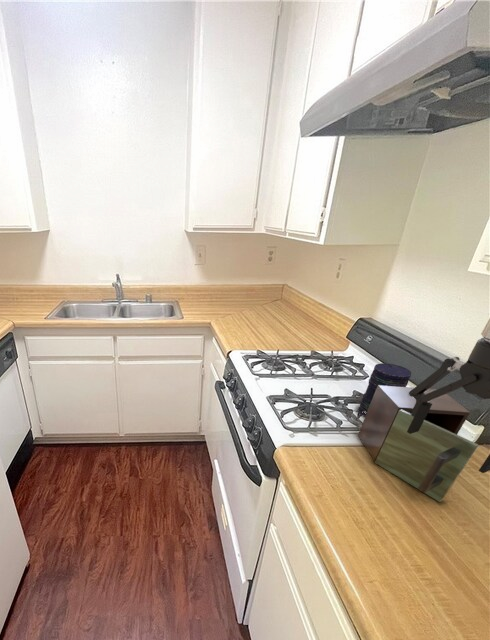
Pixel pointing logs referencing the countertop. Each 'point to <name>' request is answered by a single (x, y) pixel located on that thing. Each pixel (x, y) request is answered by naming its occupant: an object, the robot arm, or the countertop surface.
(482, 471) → the robot arm
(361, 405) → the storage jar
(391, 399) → the cupboard
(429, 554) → the countertop surface
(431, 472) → the door
